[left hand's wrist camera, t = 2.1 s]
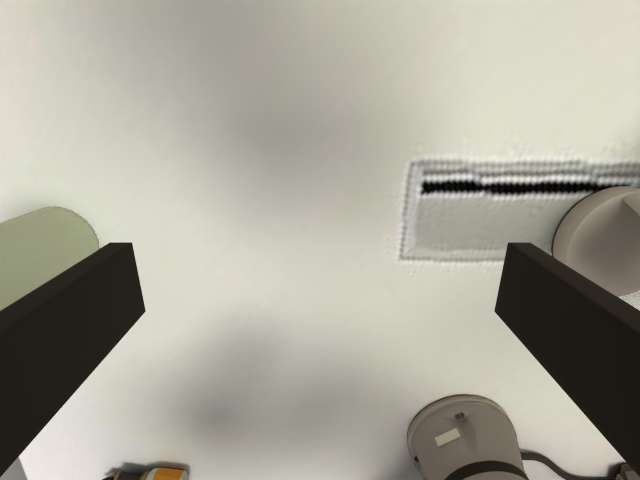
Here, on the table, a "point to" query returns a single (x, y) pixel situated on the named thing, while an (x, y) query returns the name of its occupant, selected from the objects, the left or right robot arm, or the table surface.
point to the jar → (40, 249)
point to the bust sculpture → (604, 239)
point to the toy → (627, 473)
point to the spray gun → (152, 475)
